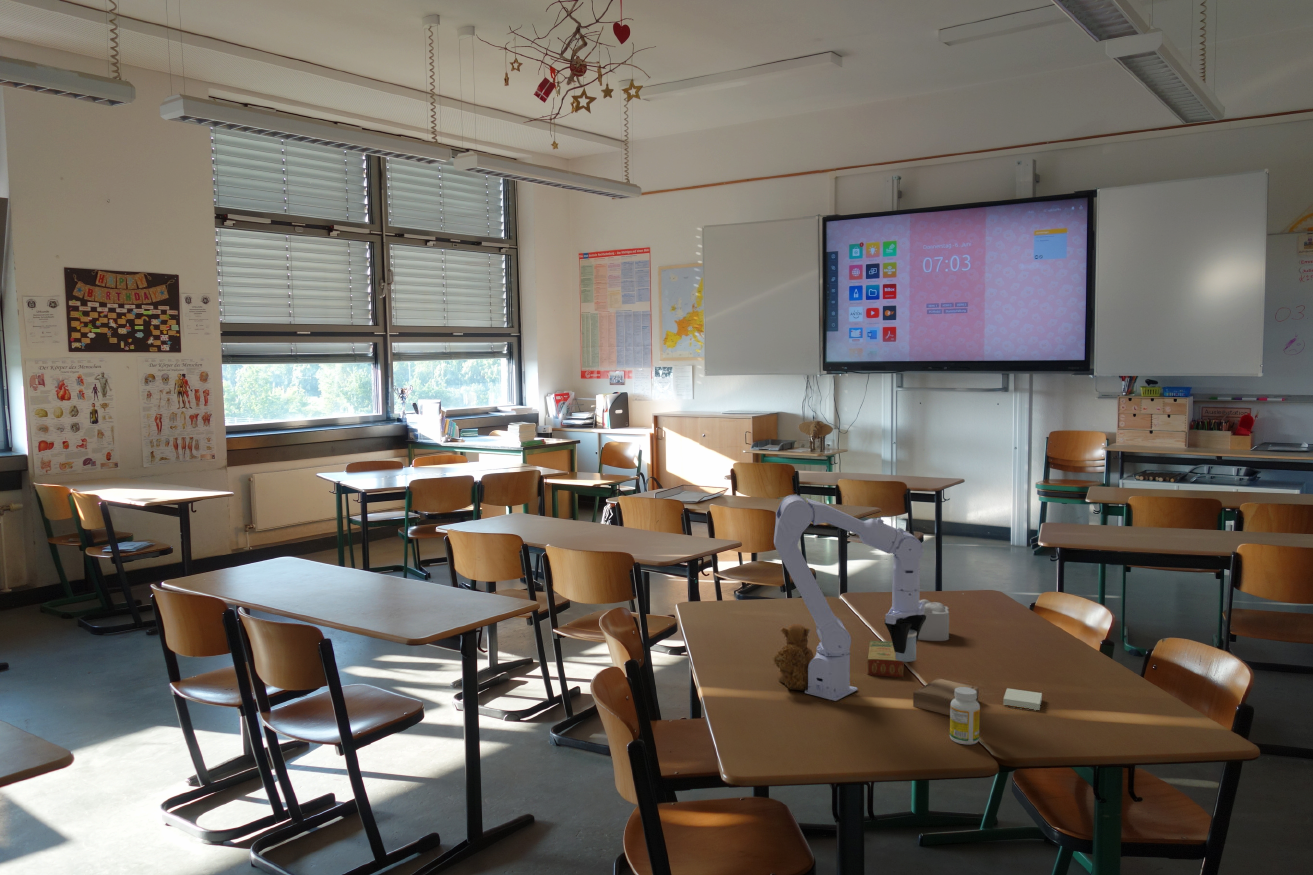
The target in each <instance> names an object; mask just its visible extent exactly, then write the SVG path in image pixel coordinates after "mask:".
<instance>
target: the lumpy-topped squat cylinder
mask: <svg viewBox="0 0 1313 875" xmlns="http://www.w3.org/2000/svg"><path fill="white" fill-rule="evenodd" d="M919 602H923V603H925V611H924V614H922V615H926V620H925V622H924V623H923V625H922V627H921V630H920V633H919V636H918V640H917V641H919V640H920V641H930V642H931V641H932V642H934V641H935V642H944V641H948V640H950V638H949V637H950V611H949V609H950V608H949V607H948V606H945V605H944V604H943V603H941V602H935V601H933V602H931V601H930V600H929V599H925V598H924V599H919Z"/></svg>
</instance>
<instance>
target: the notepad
mask: <svg viewBox="0 0 1313 875" xmlns="http://www.w3.org/2000/svg"><path fill="white" fill-rule="evenodd" d="M1042 698H1043V693H1042V692H1036V691H1029V690H1021V689H1015V688H1008V687H1007V688H1006V690H1005V693H1004V695H1003V699H1002V700H1003V701H1002V702H1003V704H1002V705H1010V706H1017V707H1024V708H1029V709H1034V710H1033V711H1036V710H1039V711H1040V709H1041V706H1040V705H1042V701H1043V699H1042ZM1029 709H1028V710H1029Z"/></svg>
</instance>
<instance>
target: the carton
mask: <svg viewBox="0 0 1313 875" xmlns="http://www.w3.org/2000/svg"><path fill="white" fill-rule="evenodd" d="M867 657H868V658H867V662H866V663H867V676H881V677H882V676H883V677H894V678H895V677H896V678H904V664H905V661H899V660H897V659H896V658H895V651H894V647H893V643H892V641H889V640H888V641H887V640H869V647H868V655H867Z"/></svg>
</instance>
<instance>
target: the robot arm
mask: <svg viewBox="0 0 1313 875" xmlns="http://www.w3.org/2000/svg"><path fill="white" fill-rule="evenodd" d="M806 500H807V501H806ZM884 522H885V520H884V519H882V518H879V517H877V518H868V519H867V520H862V519H859V518H857V517H854V516H853V515H850V514H848V513H845V512H843V511H841V510H839V509H836V508H835V507H833V506H830V505H828V504H826V503H823V502H821V501H817V500H814V499H810V498H808V497H807V498H803V497H802V496H800V495H799V494H789V495H787V496H785V497H784V498H783V499H782V500H781V502H779V506H778V508H777V510H776V512H775V526H774V534H773V544H774V548H775V549H776V552H777V553H778V555H779V557H780V559H781V561H782V562H783V564H784V566H785V568H786V570H787V572H788V574H789V575H790V578H791V579H792V581H793V583H794V586H795V587H796V589H797V591H798V594H799V595H800V596H801V598H802V601H803V602H804V604H805V606H806V608H807V609H808V611H809V613H810V615H811V617H812V620H813V621H814V623H815V627H816V628H815V629H816V635H817V637H818V639H819V640H820V642H819V643H818V645H817V646H816V653H815V655H814V658H813V659H812V660H811V661H810V663H809V666H808V686H807V688H806V690H804V693H805V694H806V695H807V694H808V695H811V696H815V697H817V698H818V697H819V698H823V699H827V700H829V701H834V702H836V701H838V700H841V699H843V698H845V697H847V696H848V695H850V694H853V693H854V692H856V691H858V687H856V686H851V684H850V681H851V679H850V677H851V676H850V675H851V671H850V669H851V664H850V663H851V659H850V658H851V650H850V647H851V645H852V638H851V634H850V632H849V631H848V630H847V629H846V627H845V625H844V623H843V621H842V620H841V619H840V618H838V617H837V616H836V615H835V614H834V612H833V610H832V609H831V607H830V605H829V602H828V601H827V599H826V597H825V595H824V593H823V592H822V589H821V587H820V586H819V584H818V582H817V580H816V578H815V577H814V575H813V572H812V571H811V569H810V567H809V565H808V563H807V561H806V560H805V559H806V558H805V557H804V555H803V554H802V552H801V550H800V548H799V546H798V545H799V541H800V539H801V537H802V534H803V532H804V531H805V530H806V529H807V528H808V527H809V526H810V524H811V523H812V525H813V526H817V525H821V524H824V523H825V524H826V523H827V524H829V525H832V526H834V527H837V528H840V529H843V530H845V531H847V532H850V533H853V534H855V535H857V536H858V537H859V540H860V542H861V543H862V544H863V545H866V546H870V547H872V548H874V549H877V550H879V551H880V552H883V553H886V554H892V555H893V563H892V564H893V565H892V590H891V592H892V599H891V600H892V601H891V602H892V603H891V605H892V606H891V607H890V609H889V611H888V613H885V618H884V625H885V627H886V629H887V630H888V633H889V635H890V638H891V642H892V643H893V647H894V651H895V652H898V653H902V654H903V653H905V649H906V642H907V636H908V632H909V630H910V629H912V630H915V631H917V635H916V645H917V644H918V641H919V640H918V636H919V633H920V630H921V627H922V625H923V623H924V622H925V620H926V615H922V614H924V611H925V603H923V602H919V601H920V591H921V590H920V587H921V586H920V584H921V583H920V581H921V568H920V560H921V558H922V557H923V556H924V553H925V552H924V551H925V550H924V548H923V545H922V542H921V541H920V540H919V538H917V537H916V536H914V535H913V534H912V533H910V532H908V531H907V530H905V529H904V528H902V527H898V528H896V527H893V526H892V525H889V524H886V523H884Z"/></svg>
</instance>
